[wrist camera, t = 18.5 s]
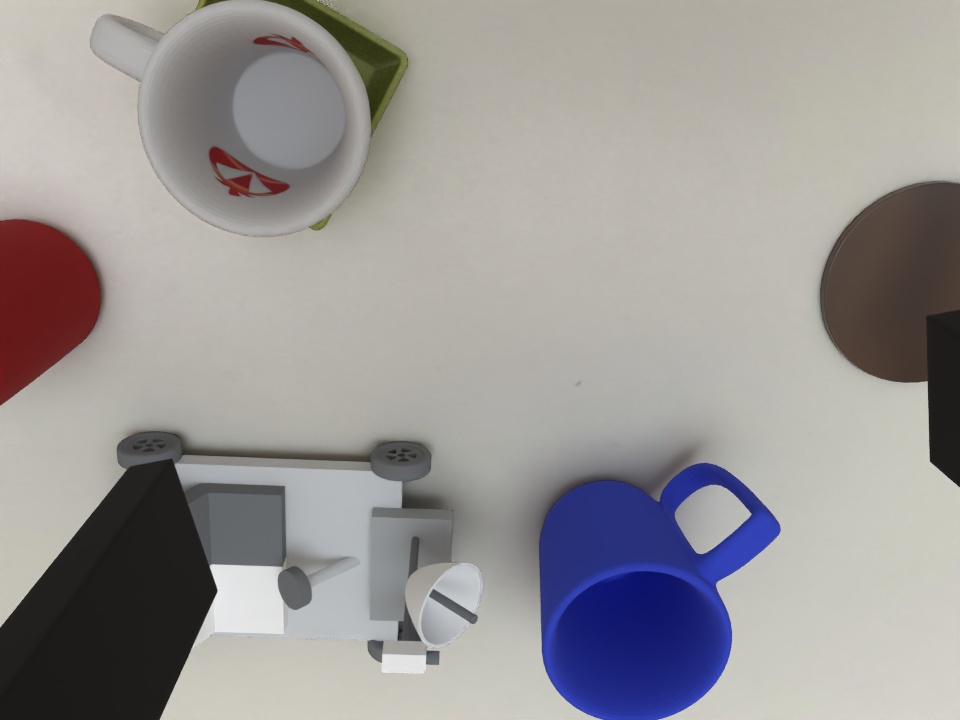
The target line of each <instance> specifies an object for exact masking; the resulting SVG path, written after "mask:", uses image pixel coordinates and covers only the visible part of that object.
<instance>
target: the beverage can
mask: <svg viewBox="0 0 960 720" xmlns="http://www.w3.org/2000/svg"><path fill="white" fill-rule="evenodd" d="M99 310H100V288H99V283H98V279H97V276H96V274H95V271H94V269H93V267H92V265H91V263H90V262H89V260H88V258H87V257H86V256H85V254H84V253H83V252H82V250H81V249H80V248H79V247H78V246H77V245H76V244H75V243H74V242H73V241H71V240H70V239H69V238H68V237H66V236H65V235H63V234H62V233H60V232H59V231H57V230H55V229H53V228H51V227H49V226H46V225H44V224H41V223H37V222H33V221H28V220H4V221H0V406H1V405H2V404H3V403H5V402H6V401H7V400H9V399H10V398H11V397H13V396H14V395H15V394H17V393H18V392H19V391H20V390H22V389H23V388H24V387H26V386H27V385H28V384H30V383H31V382H32V381H34V380H35V379H36V378H37V377H39V376H40V375H41V374H43V373H44V372H45V371H46V370H48V369H49V368H50V367H52V366H53V365H54V364H55V363H57V362H58V361H59V360H60V359H62V358H63V357H64V356H65V355H67V354H68V353H69V352H70V351H72V350H73V349H74V348H75V347H77V346H78V345H79V344H80V343H82V342H83V341H84V340H85V339H86V337H87V336H88V335H89V334H90V332H91V331H92V329H93V327H94V325H95V323H96V321H97V318H98V315H99Z"/></svg>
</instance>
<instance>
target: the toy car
mask: <svg viewBox="0 0 960 720" xmlns="http://www.w3.org/2000/svg"><path fill="white" fill-rule="evenodd" d="M171 458H172V459H173V462H174V465H175V468H176V470H177V473H178V476H179V479H180V482H181V485H182V488H183V491H184V494H185V497H186V499H187V502H188V505H189V508H190V511H191V514H192V517H193V520H194V523H195V526H196V528H197V531H198V534H199V537H200V540H201V543H202V546H203V549H204V552H205V555H206V558H207V560H208V563H209V566H210V569H211V572H212V575H213V578H214V581H215V584H216V587H217V589H218V592H217V594H216V596H215V598H214V600H213V603H212V605H211V607H210V609H209V612H208V614H207V616H206V618H205V620H204V623H203V625H202V627H201V629H200V631H199V634H198V636H197V638H196V640H195V642H194V645H193V647H192V649H194V648H195V647H196V646H197V645H199V644H200V643H201V642H203V641H204V640H205V639H207V638H208V637H209V636H230V637H263V638H296V639H329V640H361V641H368V651H369V653H370V655H371V656H372V657H373V658H374V659H375V660H377V661H379V662H381V663H382V672H387V673H421V674H425V673H426V664H431V665H439V651H427V646H428V647H432V648H439V647H443V646H445V645H448V644H450V643H451V642H452V641H454V640H455V639H456V638H458V637H459V636H460V635H461V634H462V633H463V631H464V630H465V629H466V628H467V626H468V625H469V624H470V623H472V624H475V623H476V621H477V619H478V616H477V615H475V613H476V611H477V609H478V606H479V603H480V600H481V596H482V590H483V582H482V576H481V573H480V571H479V570H478V568H477V567H476V566H475V565H473V564H470V563H451V544H452V525H453V510H436V509H409V508H402V495H403V482H404V481H413V480H417V479H420V478H422V477H424V476H426V475H427V474H428V473H429V472H430V469H431V453H430V452H429V450H428V449H426V448H425V447H423V446H421V445H418V444H415V443H409V442H391V443H386V444H383V445H380V446H378V447H376V448H375V449H374V450H373V451H372V454H371V462H350V461H325V460H299V459H274V458H249V457H223V456H198V455H182V443H181V440H180V439H179V438H178V437H177V436H175V435H173V434H169V433H164V432H147V433H140V434H136V435H133V436H130V437H127V438H125V439H124V440H122V441H121V442H120V443H119V444H118V446H117V459H118V463H119V464H120V466H122V467H123V468H125V469H128V468H129V467H130V466H134V465H140V464H145V463H150V462H155V461H161V460H166V459H171ZM412 622H413V623H412ZM192 649H191V650H192Z"/></svg>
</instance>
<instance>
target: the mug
mask: <svg viewBox="0 0 960 720" xmlns="http://www.w3.org/2000/svg"><path fill="white" fill-rule="evenodd" d="M708 485H720V486H723V487H725V488H727V489H728V490H730V491H731V492H732V493H733V494H734V495H735V496H736V497H737V498H738V499H739V500H740V501H741V502H742V503H743V504H744V505H745V506H746V508H747V509H748V510H749V511H750V512H751V513H752V515H751V516H750V518H749V519H747V520H746V521H745V522H744V523H743V524H742V525H741V526H740V527H739V528H738V529H737V530H735V531H734V532H733V533H732V534H731V535H730V536H728V537H727V538H726V539H725V540H724V541H722V542H721V543H720V544H719V545H717V546H716V547H715V548H713V549H712V550H711V551H709V552H707V553H704V554H698V553H696V552H695V551H694V549H693V548H692V547H691V545H690V544H689V542H688V541H687V539H686V538H685V536H684V534H683V533H682V531H681V529H680V527H679V526H678V524H677V522H676V520H675V511H676V509H677V508H678V506H679V505H680V504H681V503H682V502H683V501H684V500H685V499H686V498H687V497H688V496H690V495H691V494H692V493H694V492H695V491H696V490H698V489H700V488H702V487H704V486H708ZM780 531H781V530H780V524H779V522H778V521H777V520H776V518H775V517H774V515H773V514H772V513H771V512H770V511H769V510H768V509H767V507H766V506H765V505H764V504H763V503H762V502H761V501H760V500H759V499H758V498H757V497H756V495H755V494H754V493H753V492H752V491H751V490H750V489H749V488H748V487H747V486H745V485H744V484H743V483H742V482H741V481H740V480H738V479H737V478H736V477H735V476H733V475H732V474H731V473H730V472H728V471H726V470H725V469H723V468H721V467H719V466H717V465H713V464H709V463H699V464H695V465H692V466H690V467H688V468H686V469H684V470H683V471H681V472H680V473H679V474H677V475H676V476H675V477H674V478H673V479H672V480H671V481H670V482H669V483H668V484H667V486H666V487H665V488H664V490H663V492H662V494H661V498H660V502H657V501H655V500H654V499H653V498H652V497H650V496H649V495H648V494H646V493H645V492H644V491H642V490H640V489H639V488H637V487H635V486H632V485H630V484H627V483H623V482H618V481H596V482H590V483H587V484H584V485H581V486H579V487H577V488H575V489H573V490H571V491H570V492H568V493H567V494H565V495H564V496H563V497H561V498H560V499H559V500H558V501H557V502H556V504H555V505H554V506H553V507H552V509H551V510H550V511H549V513H548V515H547V517H546V519H545V521H544V524H543V527H542V530H541V535H540V541H539V560H540V597H541V633H542V655H543V662H544V665H545V669H546V672H547V674H548V676H549V678H550V680H551V682H552V684H553V685H554V687H555V688H556V690H557V691H558V692H559V693H560V694H561V696H562V697H563V698H565V699H566V700H567V701H568V702H569V703H570V704H572V705H573V706H574V707H576V708H577V709H579V710H581V711H583V712H584V713H586V714H589V715H591V716H593V717H596V718H599V719H603V720H658V719H662V718H665V717H668V716H671V715H674V714H676V713H678V712H680V711H682V710H684V709H686V708H687V707H689V706H691V705H692V704H694V703H695V702H697V701H698V700H699V699H700V698H701V697H703V696H704V695H705V694H706V693H707V692H708V691H709V690H710V689H711V688H712V687H713V685H714V684H715V683H716V682H717V680H718V679H719V677H720V676H721V674H722V672H723V670H724V668H725V666H726V664H727V661H728V658H729V655H730V651H731V644H732V629H731V622H730V618H729V615H728V612H727V610H726V607H725V605H724V603H723V601H722V599H721V597H720V595H719V593H718V591H717V588H716V583H717V582H718V581H719V580H721V579H723V578H725V577H726V576H728V575H730V574H732V573H733V572H735V571H737V570H738V569H740V568H741V567H742V566H744V565H745V564H747V563H748V562H749V561H750V560H751V559H753V558H754V557H755V556H756V555H758V554H759V553H760V552H761V551H763V550H764V549H765V548H766V547H767V546H768V545H769V544H770V543H771V542H772V541H773V540H774V539H775V538H776V537H777V536H778V535H779V533H780Z"/></svg>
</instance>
